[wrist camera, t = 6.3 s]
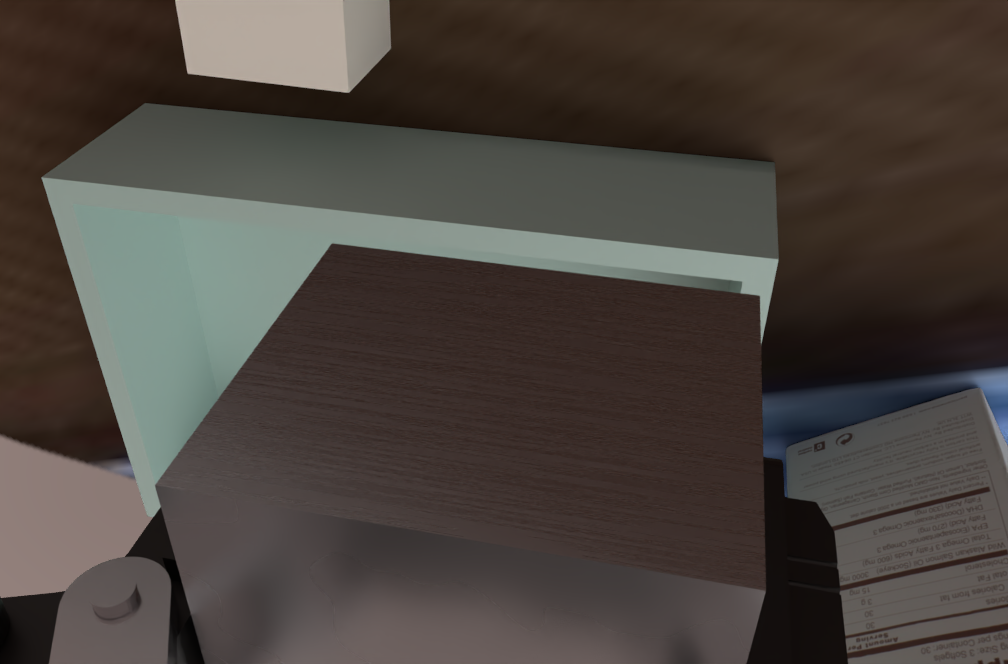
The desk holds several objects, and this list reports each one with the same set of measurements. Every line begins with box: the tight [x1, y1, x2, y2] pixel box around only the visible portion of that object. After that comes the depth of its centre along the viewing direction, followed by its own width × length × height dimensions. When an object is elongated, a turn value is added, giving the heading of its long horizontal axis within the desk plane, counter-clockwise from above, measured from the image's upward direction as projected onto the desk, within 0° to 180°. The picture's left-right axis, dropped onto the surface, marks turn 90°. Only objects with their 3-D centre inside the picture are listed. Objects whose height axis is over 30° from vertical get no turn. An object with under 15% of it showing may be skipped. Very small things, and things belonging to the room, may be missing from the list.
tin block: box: [155, 243, 766, 664], centre depth 13 cm, size 6×6×5 cm
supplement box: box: [786, 388, 1008, 664], centre depth 30 cm, size 7×7×13 cm
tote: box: [42, 103, 779, 517], centre depth 33 cm, size 15×22×6 cm
